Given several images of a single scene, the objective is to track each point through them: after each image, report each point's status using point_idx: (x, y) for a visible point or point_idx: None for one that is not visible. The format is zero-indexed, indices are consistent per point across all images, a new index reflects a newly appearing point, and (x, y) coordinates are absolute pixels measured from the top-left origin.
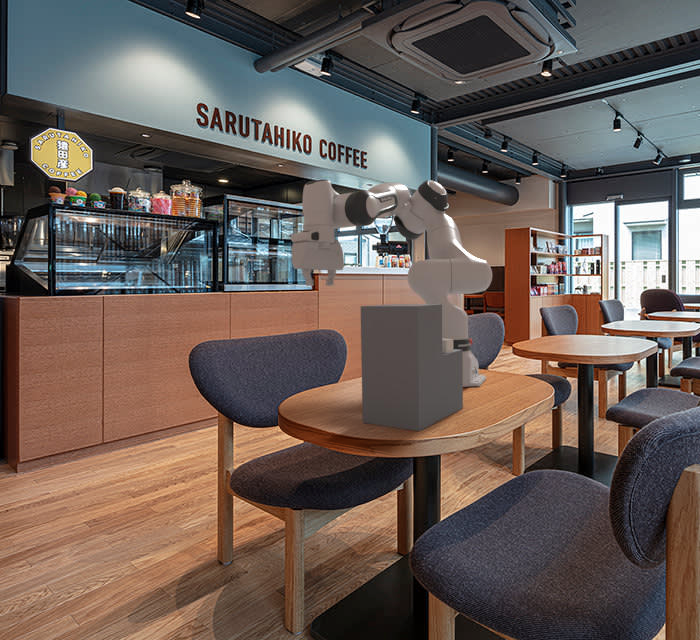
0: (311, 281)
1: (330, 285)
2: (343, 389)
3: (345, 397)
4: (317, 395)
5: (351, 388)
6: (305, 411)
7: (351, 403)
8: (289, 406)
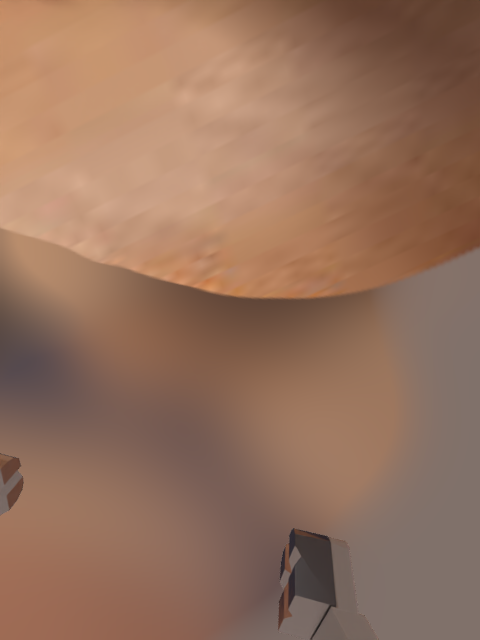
0: (336, 577)
1: (11, 456)
2: (185, 219)
3: (282, 165)
4: (278, 252)
5: (165, 202)
6: (473, 195)
7: (355, 109)
8: (419, 261)
